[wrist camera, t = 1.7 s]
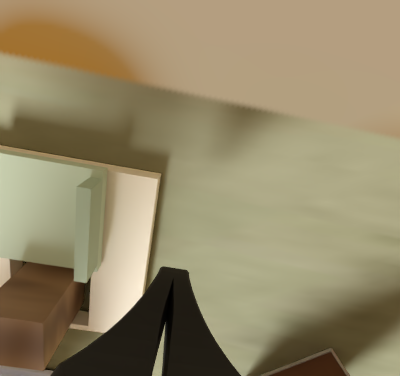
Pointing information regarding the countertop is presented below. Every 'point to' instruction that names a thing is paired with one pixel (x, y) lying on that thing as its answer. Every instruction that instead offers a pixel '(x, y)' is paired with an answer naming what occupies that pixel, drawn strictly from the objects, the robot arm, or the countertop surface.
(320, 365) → the food container
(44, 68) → the countertop surface
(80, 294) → the walnut block
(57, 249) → the lid
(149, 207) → the puzzle board
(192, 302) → the robot arm
